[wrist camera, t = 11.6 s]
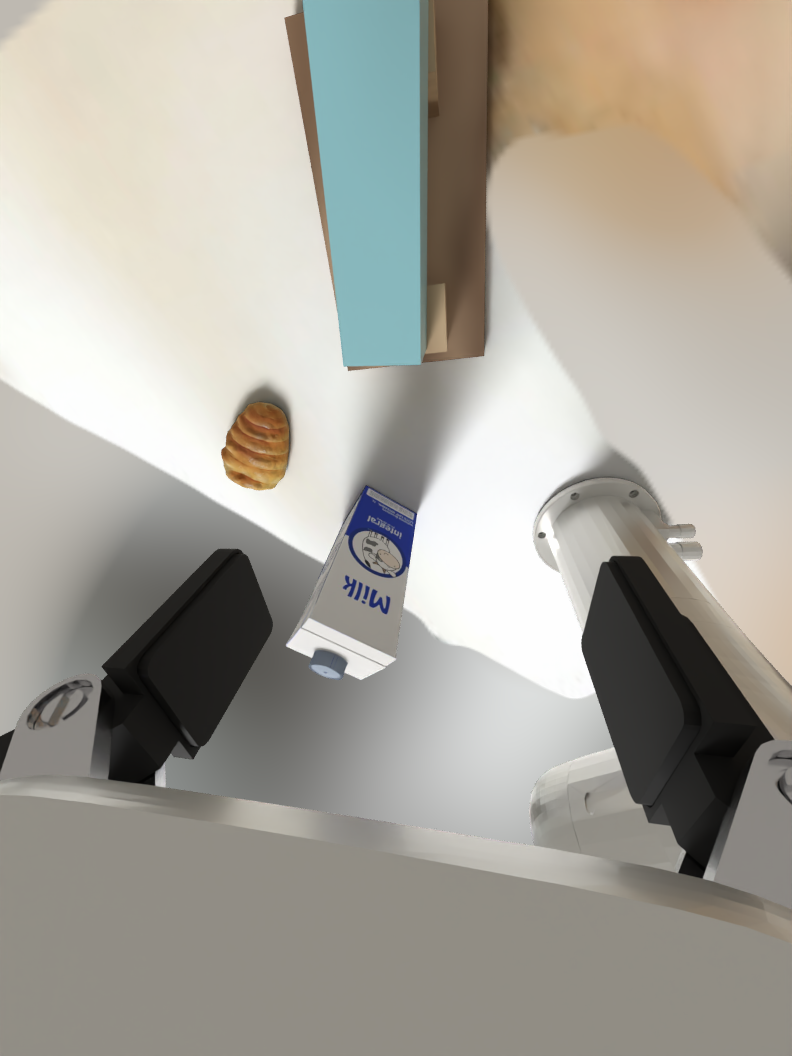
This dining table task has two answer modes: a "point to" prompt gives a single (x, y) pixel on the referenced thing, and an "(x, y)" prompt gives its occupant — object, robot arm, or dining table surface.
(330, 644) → the milk carton
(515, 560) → the dining table surface
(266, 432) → the pastry
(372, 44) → the pale blue rectangular prism
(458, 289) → the display stand
